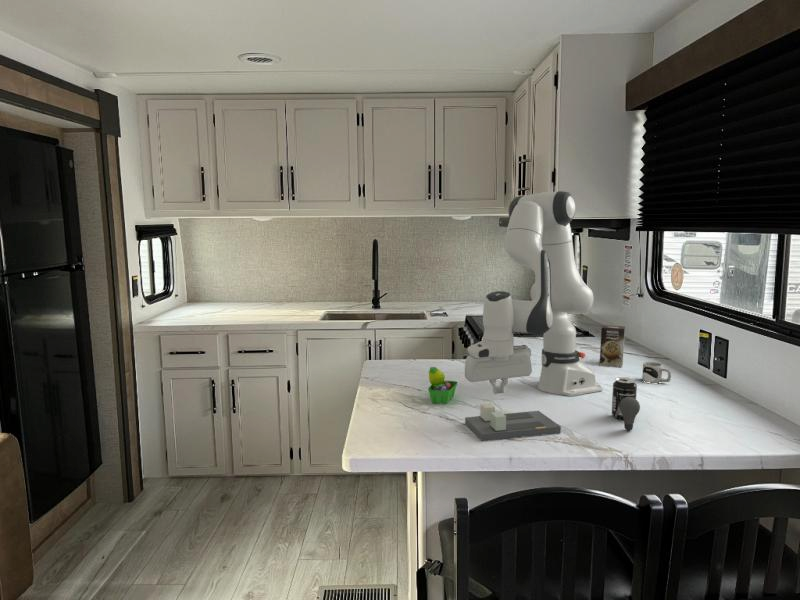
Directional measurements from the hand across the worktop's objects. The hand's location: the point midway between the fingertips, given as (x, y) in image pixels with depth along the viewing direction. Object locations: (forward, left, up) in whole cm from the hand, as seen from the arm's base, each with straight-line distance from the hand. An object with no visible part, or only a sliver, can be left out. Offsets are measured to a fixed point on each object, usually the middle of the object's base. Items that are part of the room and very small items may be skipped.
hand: (498, 392), depth 176 cm
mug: (-74, -26, -10) cm, 79 cm away
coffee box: (-72, -52, -10) cm, 89 cm away
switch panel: (-3, +4, -10) cm, 11 cm away
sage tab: (+3, +8, -8) cm, 12 cm away
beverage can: (-40, +4, -10) cm, 41 cm away
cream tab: (+3, 0, -8) cm, 8 cm away
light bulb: (-35, +14, -10) cm, 39 cm away
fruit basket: (+9, -27, -10) cm, 30 cm away
